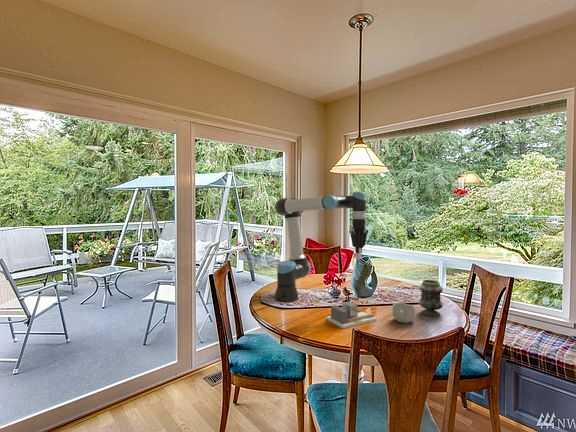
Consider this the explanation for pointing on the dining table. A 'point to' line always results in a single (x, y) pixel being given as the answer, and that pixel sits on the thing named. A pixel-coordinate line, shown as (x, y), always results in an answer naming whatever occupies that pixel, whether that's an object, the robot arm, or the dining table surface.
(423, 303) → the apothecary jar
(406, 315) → the teacup
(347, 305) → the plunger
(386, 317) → the dining table surface
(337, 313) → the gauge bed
